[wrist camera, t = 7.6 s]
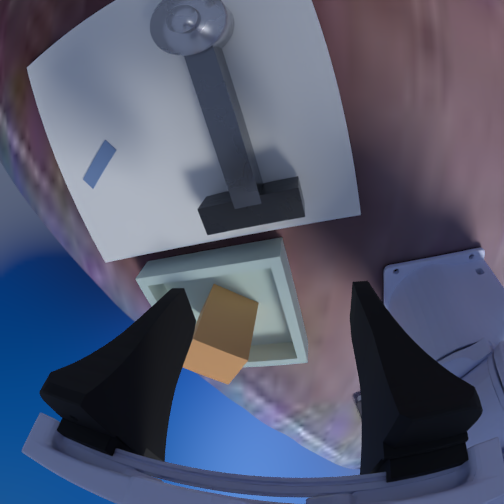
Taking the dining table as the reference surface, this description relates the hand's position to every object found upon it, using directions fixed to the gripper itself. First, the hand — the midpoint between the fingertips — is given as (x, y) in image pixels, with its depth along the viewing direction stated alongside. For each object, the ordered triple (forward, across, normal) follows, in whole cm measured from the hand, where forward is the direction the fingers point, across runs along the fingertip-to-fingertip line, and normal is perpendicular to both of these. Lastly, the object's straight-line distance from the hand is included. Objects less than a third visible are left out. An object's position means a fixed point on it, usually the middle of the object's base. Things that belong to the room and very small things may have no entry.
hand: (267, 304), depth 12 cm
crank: (+8, +2, -8) cm, 11 cm away
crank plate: (+9, +6, -8) cm, 14 cm away
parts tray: (+9, +5, +9) cm, 14 cm away
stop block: (+9, +5, +9) cm, 13 cm away
